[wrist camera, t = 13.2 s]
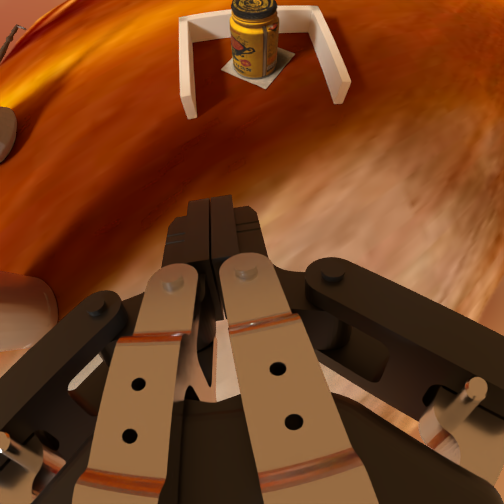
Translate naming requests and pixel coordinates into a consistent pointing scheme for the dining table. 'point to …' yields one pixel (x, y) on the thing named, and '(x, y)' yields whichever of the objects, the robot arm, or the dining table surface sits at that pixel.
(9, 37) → the coffee pot
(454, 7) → the dining table surface
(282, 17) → the caddy
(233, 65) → the condiment
